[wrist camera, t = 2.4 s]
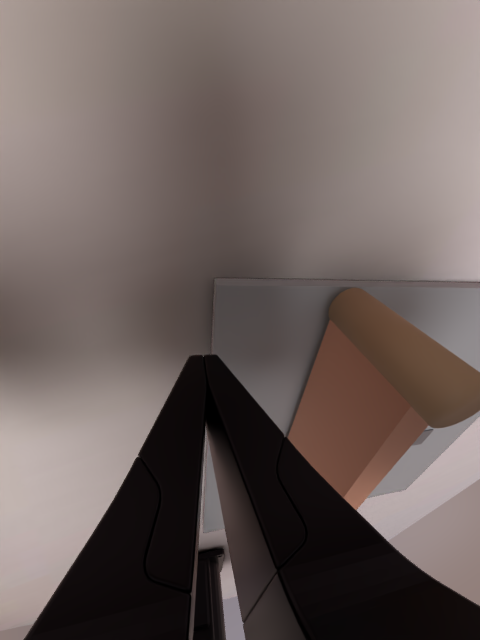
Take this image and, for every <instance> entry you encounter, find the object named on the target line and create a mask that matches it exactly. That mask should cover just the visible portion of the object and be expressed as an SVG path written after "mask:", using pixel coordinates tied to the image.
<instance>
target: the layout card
mask: <svg viewBox="0 0 480 640" xmlns="http://www.w3.org/2000/svg"><path fill="white" fill-rule="evenodd" d="M350 288H361V289H363V290H364V291H366V292H367V293H369V294H370V295H372V296H373V297H374V298H376V299H377V300H379V301H380V302H381V303H383V304H384V305H386V306H387V307H388V308H390V309H391V310H393V311H394V312H395V313H397V314H398V315H400V316H401V317H403V318H404V319H405V320H407V321H408V322H410V323H411V324H412V325H414V326H415V327H417V328H418V329H419V330H421V331H422V332H424V333H425V334H427V335H428V336H429V337H431V338H432V339H434V340H435V341H436V342H438V343H439V344H441V345H442V346H443V347H445V348H446V349H448V350H449V351H450V352H452V353H453V354H455V355H456V356H458V357H459V358H460V359H462V360H463V361H465V362H466V363H467V364H469V365H470V366H472V367H473V368H474V369H476V370H477V371H479V372H480V282H421V281H362V280H303V279H244V278H214V298H213V319H212V340H211V354H216V355H218V356H219V358H220V359H221V360H222V361H223V362H224V363H225V365H226V366H227V367H228V368H229V369H230V371H231V372H232V373H233V374H234V375H235V377H236V378H237V379H238V380H239V381H240V382H241V384H242V385H243V386H244V387H245V388H246V390H247V391H248V392H249V393H250V394H251V395H252V397H253V398H254V399H255V400H256V401H257V403H258V404H259V405H260V406H261V407H262V409H263V410H264V411H265V412H266V413H267V414H268V416H269V417H270V418H271V419H272V420H273V422H274V423H275V424H276V425H277V426H278V427H279V429H280V430H281V431H282V432H283V433H284V437H287V438H288V436H289V433H290V430H291V427H292V424H293V421H294V419H295V416H296V413H297V410H298V407H299V405H300V402H301V399H302V396H303V393H304V391H305V388H306V385H307V382H308V379H309V377H310V374H311V371H312V368H313V365H314V363H315V360H316V357H317V354H318V351H319V349H320V346H321V343H322V340H323V337H324V335H325V332H326V329H327V326H328V323H329V320H330V318H329V314H328V312H329V307H330V305H331V303H332V301H333V300H334V299H335V297H337V296H338V295H339V294H340V293H341V292H343V291H345V290H347V289H350ZM479 416H480V411H478V412H477V413H476V414H474V415H473V416H471V417H469V418H467V419H466V420H464V421H462V422H459V423H457V424H455V425H452V426H449V427H445V428H432V427H430V426H428V427H427V428H426V429H425V430H424V431H423V433H422V434H421V435H420V436H419V437H418V438H417V440H416V441H415V442H414V443H413V444H412V445H411V447H410V448H409V449H408V450H407V451H406V452H405V454H404V455H403V456H402V457H401V458H400V459H399V461H398V462H397V463H396V464H395V465H394V466H393V468H392V469H391V470H390V471H389V472H388V474H387V475H386V476H385V477H384V478H383V479H382V481H381V482H380V483H379V484H378V485H377V486H376V488H375V489H374V490H373V491H372V492H371V493H370V495H369V496H368V497H367V498H370V497H375V496H379V495H384V494H388V493H393V492H398V491H402V490H406V489H407V488H408V487H409V486H410V485H411V484H412V483H413V482H414V481H415V480H416V479H417V478H418V477H419V476H420V475H421V474H422V473H423V472H424V471H425V470H426V469H427V468H428V467H429V466H430V465H431V464H432V463H433V462H434V461H435V460H436V459H437V458H438V457H439V456H440V455H441V454H442V453H443V452H444V451H445V450H446V449H447V448H448V447H449V446H450V445H451V444H452V443H453V442H454V441H455V440H456V439H457V438H458V437H459V436H460V435H461V434H462V433H463V432H464V431H465V430H466V429H467V428H468V427H469V426H470V425H471V424H472V423H473V422H474V421H475V420H476V419H477V418H478V417H479ZM221 529H225V526H224V521H223V515H222V510H221V505H220V499H219V494H218V489H217V483H216V478H215V473H214V468H213V462H212V457H211V452H210V446H209V441H208V436H207V445H206V466H205V487H204V508H203V533H207V532H212V531H216V530H221Z"/></svg>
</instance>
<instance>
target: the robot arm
mask: <svg viewBox="0 0 480 640" xmlns="http://www.w3.org/2000/svg"><path fill="white" fill-rule="evenodd" d="M205 426H206V429H207V436H208V441H209V446H210V452H211V457H212V462H213V468H214V473H215V478H216V483H217V489H218V494H219V499H220V505H221V510H222V515H223V521H224V526H225V531H226V537H227V542H228V547H229V553H230V558H231V563H232V569H233V574H234V579H235V585H236V590H237V595H238V601H239V606H240V611H241V617H242V621H243V623H244V624H243V628H244V633H245V638H246V640H480V606H479V605H477V604H475V603H474V602H472V601H470V600H469V599H467V598H465V597H464V596H462V595H460V594H458V593H457V592H455V591H453V590H452V589H450V588H448V587H447V586H445V585H444V584H442V583H440V582H439V581H437V580H435V579H434V578H433V577H431V576H430V575H428V574H427V573H425V572H424V571H422V570H421V569H420V568H418V567H417V566H416V565H415V564H413V563H412V562H410V561H409V560H408V559H407V558H406V557H405V556H403V555H402V554H401V553H400V552H399V551H398V550H396V549H395V548H394V547H393V546H392V545H391V544H390V543H389V542H388V541H387V540H386V539H385V538H384V537H383V536H382V535H381V534H380V533H379V532H378V531H377V530H376V529H375V528H374V527H373V526H372V525H371V524H370V523H369V522H367V521H366V520H365V519H364V518H363V517H362V516H361V515H360V514H359V513H358V512H357V511H356V510H355V509H354V508H353V507H352V506H351V505H350V504H349V503H348V502H347V501H346V500H345V499H344V498H343V497H342V496H341V495H340V494H339V493H338V492H337V491H336V490H335V489H334V488H333V487H332V486H331V485H330V484H329V483H328V482H327V481H326V480H325V479H324V478H323V477H322V476H321V475H320V474H319V473H318V472H317V471H316V470H315V469H314V468H313V467H312V466H311V465H310V463H309V462H308V461H307V460H306V459H305V458H304V457H303V456H302V454H301V453H300V452H299V451H298V450H297V449H296V448H295V446H294V445H293V444H292V443H291V442H290V440H289V439H288V438H287V437H284V433H283V432H282V431H281V430H280V429H279V427H278V426H277V425H276V424H275V423H274V422H273V420H272V419H271V418H270V417H269V416H268V414H267V413H266V412H265V411H264V410H263V409H262V407H261V406H260V405H259V404H258V403H257V401H256V400H255V399H254V398H253V397H252V395H251V394H250V393H249V392H248V391H247V390H246V388H245V387H244V386H243V385H242V384H241V382H240V381H239V380H238V379H237V378H236V377H235V375H234V374H233V373H232V372H231V371H230V369H229V368H228V367H227V366H226V365H225V363H224V362H223V361H222V360H221V359H220V358H219V356H218V355H216V354H209V355H204V357H203V356H202V355H191V356H189V358H188V360H187V362H186V364H185V365H184V367H183V369H182V371H181V373H180V375H179V377H178V379H177V381H176V383H175V385H174V387H173V388H172V390H171V392H170V394H169V396H168V398H167V400H166V402H165V404H164V406H163V408H162V410H161V411H160V413H159V415H158V417H157V419H156V421H155V423H154V425H153V427H152V429H151V431H150V433H149V434H148V436H147V438H146V440H145V442H144V444H143V446H142V448H141V450H140V452H139V454H138V456H139V457H137V458H136V459H135V461H134V463H133V465H132V467H131V469H130V471H129V472H128V474H127V476H126V478H125V480H124V482H123V483H122V485H121V487H120V489H119V491H118V492H117V494H116V496H115V498H114V500H113V501H112V503H111V505H110V506H109V508H108V509H107V511H106V513H105V514H104V516H103V517H102V519H101V521H100V522H99V524H98V526H97V527H96V529H95V530H94V532H93V534H92V535H91V537H90V538H89V540H88V541H87V543H86V544H85V546H84V548H83V549H82V551H81V552H80V554H79V555H78V557H77V558H76V560H75V561H74V563H73V564H72V566H71V568H70V569H69V571H68V572H67V574H66V575H65V577H64V578H63V580H62V581H61V583H60V584H59V586H58V588H57V589H56V591H55V592H54V594H53V595H52V597H51V598H50V600H49V601H48V603H47V605H46V606H45V608H44V609H43V611H42V612H41V614H40V615H39V617H38V618H37V620H36V621H35V623H34V625H33V626H32V628H31V629H30V631H29V632H28V634H27V635H26V637H25V638H24V640H226V635H225V624H224V614H223V602H222V591H221V580H220V572H221V570H222V565H223V561H224V556H225V554H224V549H219V550H215V551H210V552H206V553H202V554H198V545H199V529H200V512H201V495H202V479H203V462H204V445H205Z"/></svg>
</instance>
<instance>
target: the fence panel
mask: <svg viewBox="0 0 480 640" xmlns="http://www.w3.org/2000/svg"><path fill="white" fill-rule="evenodd" d="M328 314H329V318H330V320H329V323H328V326H327V329H326V332H325V335H324V337H323V340H322V343H321V346H320V349H319V351H318V354H317V357H316V360H315V363H314V365H313V368H312V371H311V374H310V377H309V379H308V382H307V385H306V388H305V391H304V393H303V396H302V399H301V402H300V405H299V407H298V410H297V413H296V416H295V419H294V421H293V424H292V427H291V430H290V433H289V436H288V439H289V440H290V442H291V443H292V444H293V445H294V446H295V448H296V449H297V450H298V451H299V452H300V453H301V454H302V456H303V457H304V458H305V459H306V460H307V461H308V462H309V463H310V465H311V466H312V467H313V468H314V469H315V470H316V471H317V472H318V473H319V474H320V475H321V476H322V477H323V478H324V479H325V480H326V481H327V482H328V483H329V484H330V485H331V486H332V487H333V488H334V489H335V490H336V491H337V492H338V493H339V494H340V495H341V496H342V497H343V498H344V499H345V500H346V501H347V502H348V503H349V504H350V505H351V506H352V507H353V508H354V509H355V510H357V509H358V507H359V506H360V505H361V504H362V503H363V502H364V500H365V499H366V498H367V497H368V496H369V495H370V493H371V492H372V491H373V490H374V489H375V488H376V486H377V485H378V484H379V483H380V482H381V481H382V479H383V478H384V477H385V476H386V475H387V474H388V472H389V471H390V470H391V469H392V468H393V466H394V465H395V464H396V463H397V462H398V461H399V459H400V458H401V457H402V456H403V455H404V454H405V452H406V451H407V450H408V449H409V448H410V447H411V445H412V444H413V443H414V442H415V441H416V440H417V438H418V437H419V436H420V435H421V434H422V433H423V431H424V430H425V429H426V428H427V427H428V426H430V427H432V428H445V427H449V426H452V425H455V424H457V423H459V422H462V421H464V420H466V419H467V418H469V417H471V416H473V415H474V414H476V413H477V412H478V411H480V372H479V371H477V370H476V369H474V368H473V367H472V366H470V365H469V364H467V363H466V362H465V361H463V360H462V359H460V358H459V357H458V356H456V355H455V354H453V353H452V352H450V351H449V350H448V349H446V348H445V347H443V346H442V345H441V344H439V343H438V342H436V341H435V340H434V339H432V338H431V337H429V336H428V335H427V334H425V333H424V332H422V331H421V330H419V329H418V328H417V327H415V326H414V325H412V324H411V323H410V322H408V321H407V320H405V319H404V318H403V317H401V316H400V315H398V314H397V313H395V312H394V311H393V310H391V309H390V308H388V307H387V306H386V305H384V304H383V303H381V302H380V301H379V300H377V299H376V298H374V297H373V296H372V295H370V294H369V293H367V292H366V291H364V290H363V289H361V288H350V289H347V290H345V291H343V292H341V293H340V294H339V295H338V296H337V297H335V299H334V300H333V301H332V303H331V305H330V307H329V312H328Z"/></svg>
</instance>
